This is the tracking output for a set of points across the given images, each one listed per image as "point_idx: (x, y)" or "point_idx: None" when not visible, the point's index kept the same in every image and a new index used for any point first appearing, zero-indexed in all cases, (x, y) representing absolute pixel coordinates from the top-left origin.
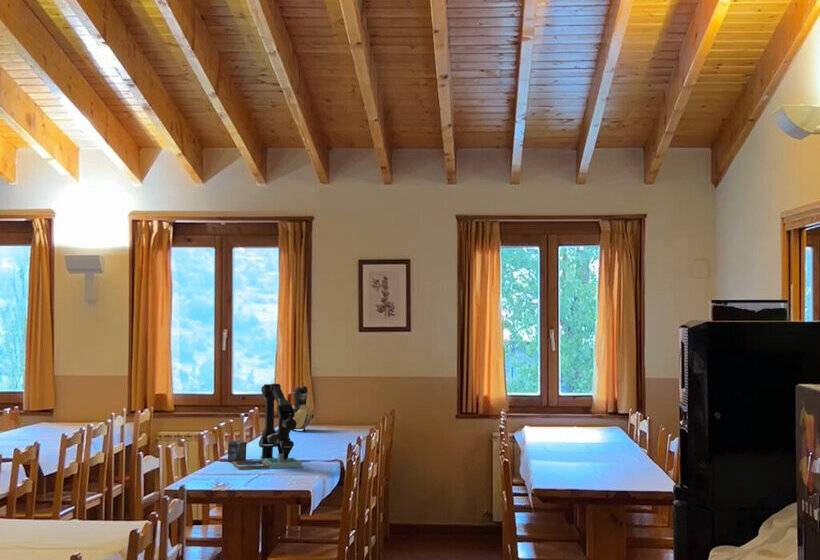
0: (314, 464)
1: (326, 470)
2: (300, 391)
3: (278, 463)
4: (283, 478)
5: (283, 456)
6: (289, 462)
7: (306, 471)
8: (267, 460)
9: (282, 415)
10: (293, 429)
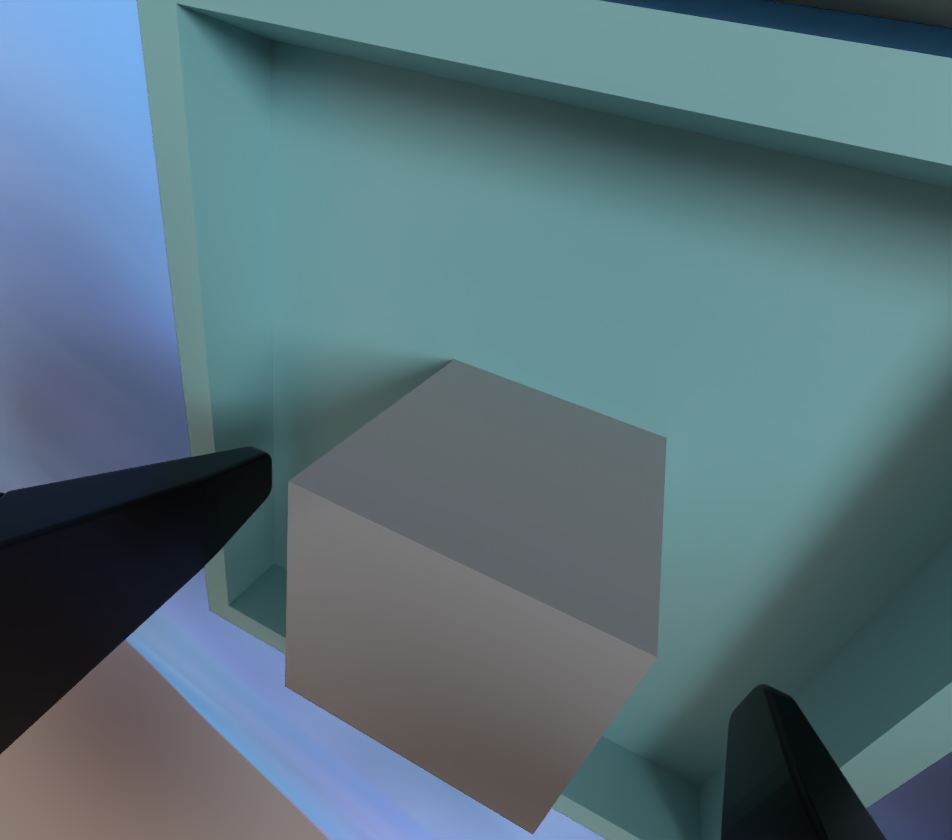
0: (418, 784)
1: None
2: None
3: (168, 196)
4: None
5: (180, 481)
6: (639, 697)
7: (31, 421)
8: (790, 51)
9: None
10: None
